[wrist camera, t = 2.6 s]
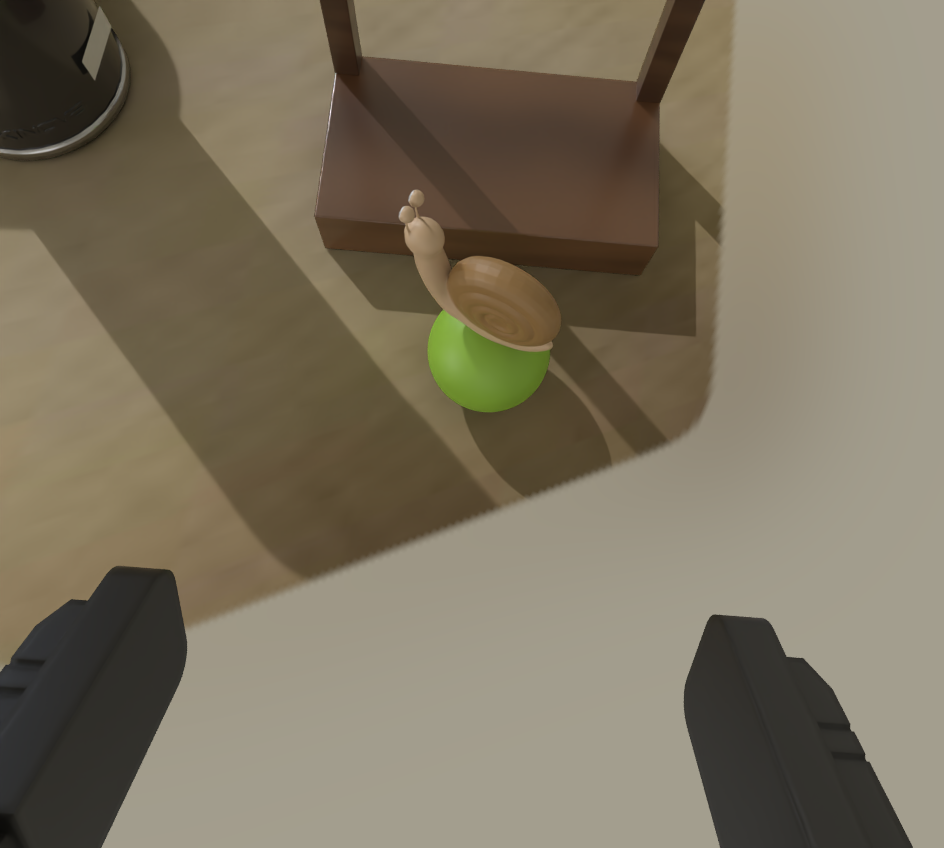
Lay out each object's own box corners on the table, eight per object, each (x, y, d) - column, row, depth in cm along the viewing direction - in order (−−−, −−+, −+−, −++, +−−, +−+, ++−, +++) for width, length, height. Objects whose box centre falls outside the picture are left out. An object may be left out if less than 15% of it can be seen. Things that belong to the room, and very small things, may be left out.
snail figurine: (442, 292, 34) (442, 132, 22) (559, 348, 33) (621, 215, 22) (390, 384, 33) (361, 267, 21) (511, 444, 32) (549, 358, 20)
